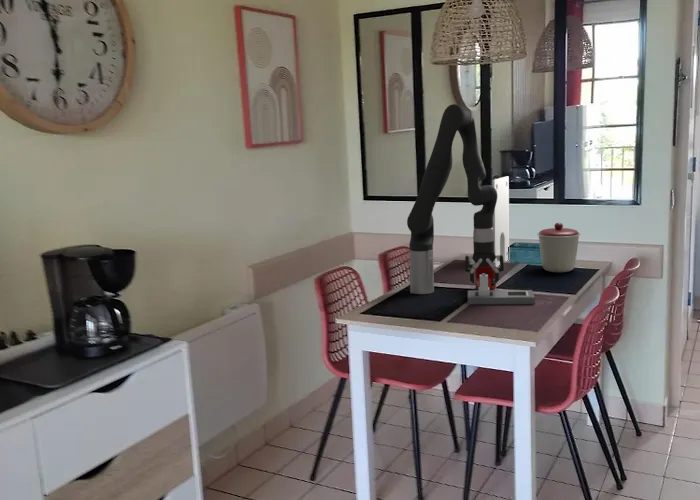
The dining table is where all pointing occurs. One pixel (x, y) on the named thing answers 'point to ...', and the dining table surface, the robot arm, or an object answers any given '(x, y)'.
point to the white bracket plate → (501, 219)
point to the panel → (502, 297)
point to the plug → (484, 285)
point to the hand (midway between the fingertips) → (484, 282)
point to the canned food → (487, 271)
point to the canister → (558, 248)
